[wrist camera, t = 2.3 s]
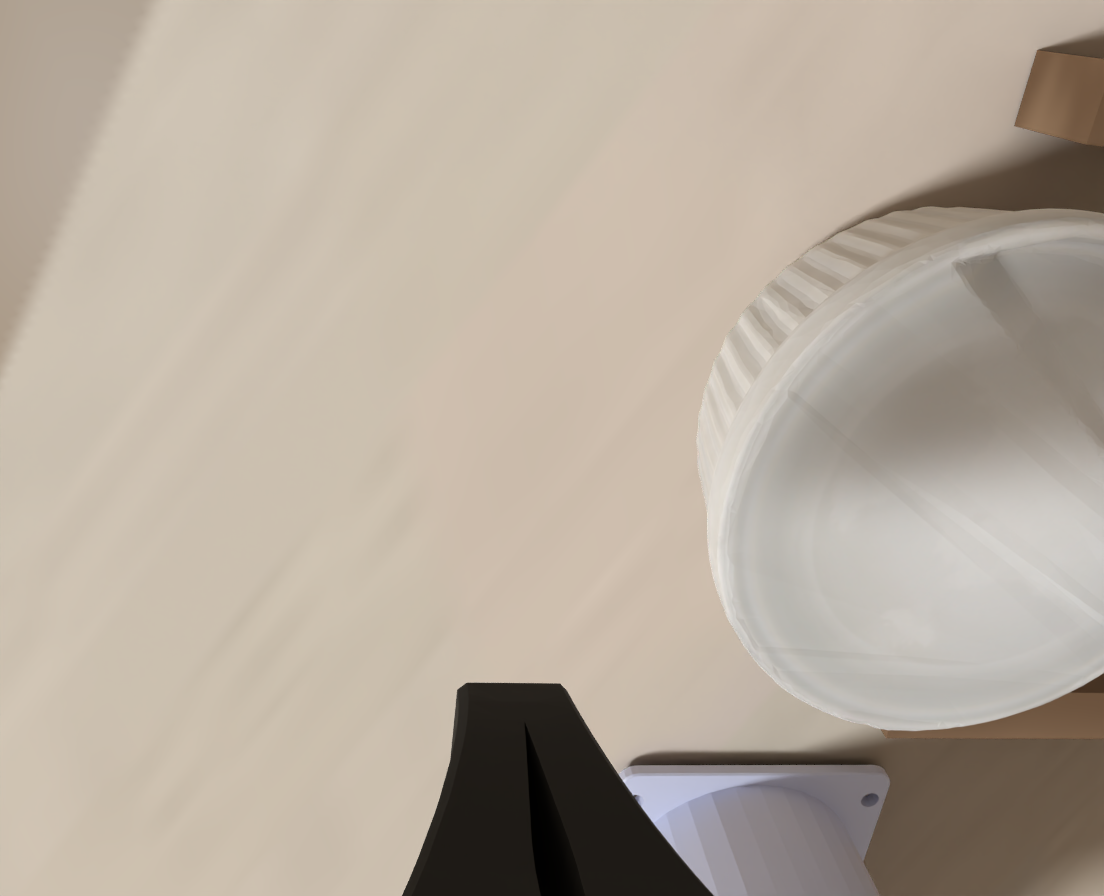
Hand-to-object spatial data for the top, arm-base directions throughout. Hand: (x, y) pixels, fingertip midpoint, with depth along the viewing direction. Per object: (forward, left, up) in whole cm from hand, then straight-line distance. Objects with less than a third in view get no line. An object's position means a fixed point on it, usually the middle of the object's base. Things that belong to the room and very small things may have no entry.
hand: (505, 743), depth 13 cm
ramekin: (+1, -10, -11) cm, 15 cm away
